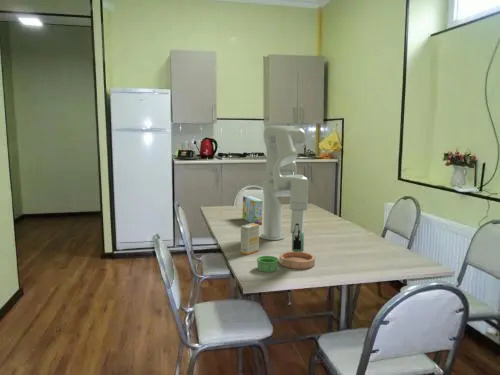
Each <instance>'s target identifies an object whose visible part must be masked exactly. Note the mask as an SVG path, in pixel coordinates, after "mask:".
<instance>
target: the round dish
mask: <svg viewBox="0 0 500 375" xmlns="http://www.w3.org/2000/svg"><path fill="white" fill-rule="evenodd" d="M278 259H279V260H278V263H279V264H280V265H281V266H282V267H285V268H288V269H293V270H304V269H310V268H313V267H314V266H315V264H316V256H315V255H314V254H312V253H309V252H306V251H303V252H294V251H292V250H291V251H290V250H289V251H285V252H282V253H280V255H279V258H278Z"/></svg>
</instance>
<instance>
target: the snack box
mask: <svg viewBox="0 0 500 375" xmlns="http://www.w3.org/2000/svg"><path fill="white" fill-rule="evenodd" d="M263 205H264V200H262V199H260V198H258V197H254V196H252V195H243V196H242V219H244V220H245V221H246V222H248V223H249V224H250V223H254V224H259V226H261V225H262V224H263V222H262V221H263Z"/></svg>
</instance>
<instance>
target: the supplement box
mask: <svg viewBox="0 0 500 375" xmlns="http://www.w3.org/2000/svg"><path fill="white" fill-rule="evenodd" d="M259 237H260V225H259V224H254V223H250V222H249V223H246V224H244V225H240V253H241V254H243V255H247V256H248V255H251V254H254V253H257V252H259V250H260V246H259V244H260V238H259Z"/></svg>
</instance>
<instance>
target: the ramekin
mask: <svg viewBox="0 0 500 375" xmlns="http://www.w3.org/2000/svg"><path fill="white" fill-rule="evenodd" d="M256 261H257V262H256V263H257V269H258V271H260V272H264V273H273V272H276V271H277V270H278V267H279V266H278V265H279V264H278V263H279V258H278V257H276V256H273V255H261V256H258V257H257V258H256Z"/></svg>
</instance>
